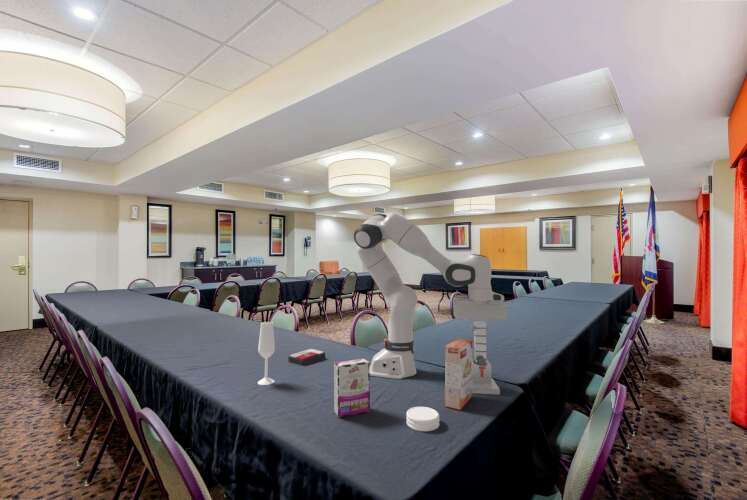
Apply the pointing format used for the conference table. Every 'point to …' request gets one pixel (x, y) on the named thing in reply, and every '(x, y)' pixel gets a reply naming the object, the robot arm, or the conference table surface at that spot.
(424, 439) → the conference table surface
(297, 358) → the flat red white box
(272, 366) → the conference table surface
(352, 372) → the candy bar box
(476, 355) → the column
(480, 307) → the robot arm
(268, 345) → the champagne flute
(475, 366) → the housing
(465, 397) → the cracker box
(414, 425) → the coaster
